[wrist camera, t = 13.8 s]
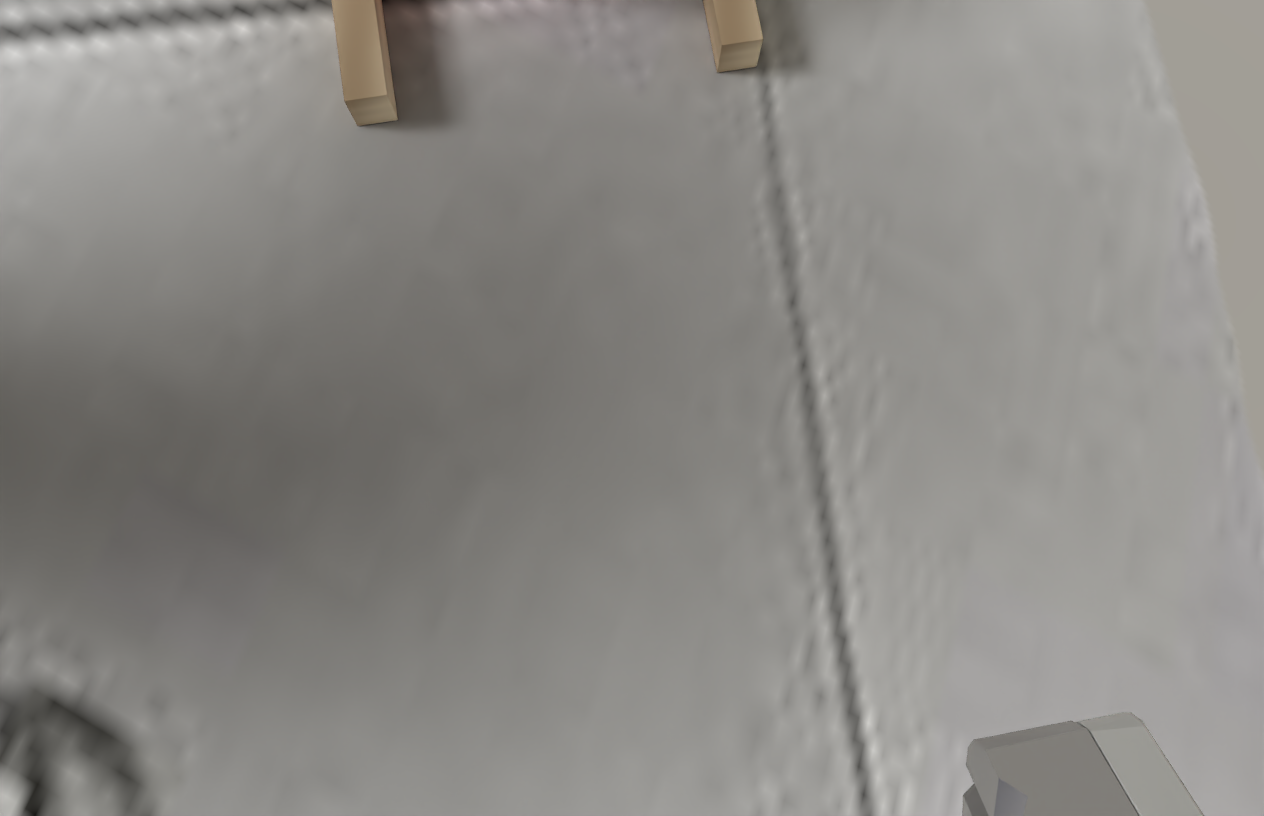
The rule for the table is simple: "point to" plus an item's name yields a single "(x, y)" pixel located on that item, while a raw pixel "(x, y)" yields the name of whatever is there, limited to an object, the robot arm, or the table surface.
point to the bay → (371, 69)
